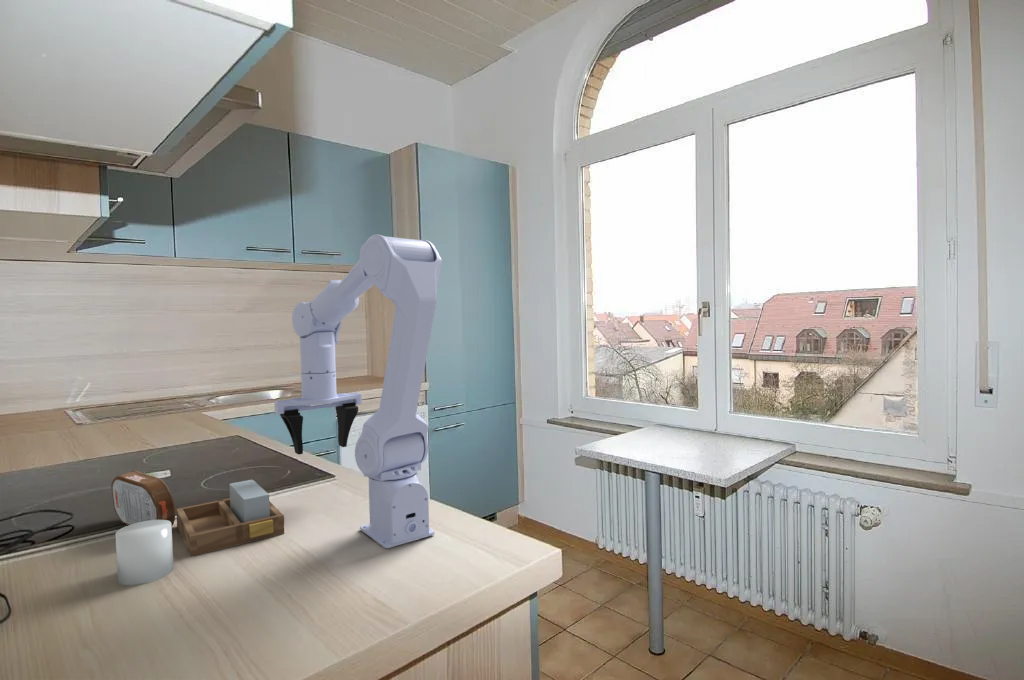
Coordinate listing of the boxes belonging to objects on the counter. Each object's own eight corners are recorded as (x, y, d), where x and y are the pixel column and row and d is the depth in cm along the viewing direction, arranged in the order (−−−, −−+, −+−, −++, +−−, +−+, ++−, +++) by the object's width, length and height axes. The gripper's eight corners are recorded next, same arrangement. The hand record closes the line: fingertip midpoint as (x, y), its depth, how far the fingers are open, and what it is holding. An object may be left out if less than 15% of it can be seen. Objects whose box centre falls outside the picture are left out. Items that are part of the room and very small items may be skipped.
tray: (285, 534, 84) (284, 516, 84) (191, 558, 76) (190, 538, 76) (260, 508, 95) (260, 492, 95) (177, 526, 88) (176, 508, 88)
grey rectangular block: (270, 526, 85) (269, 494, 85) (245, 532, 83) (244, 499, 82) (253, 508, 93) (252, 479, 92) (230, 513, 90) (229, 483, 90)
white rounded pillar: (176, 575, 71) (174, 529, 71) (119, 590, 68) (116, 542, 67) (170, 559, 76) (168, 516, 76) (116, 572, 72) (114, 527, 72)
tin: (178, 534, 85) (175, 479, 84) (156, 541, 82) (153, 485, 82) (130, 516, 93) (128, 466, 92) (109, 522, 90) (106, 471, 90)
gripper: (350, 367, 104) (352, 439, 105) (268, 373, 95) (271, 452, 96) (365, 370, 99) (367, 445, 99) (279, 377, 90) (283, 460, 90)
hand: (321, 449), depth 97 cm, fingers open, 7 cm apart
